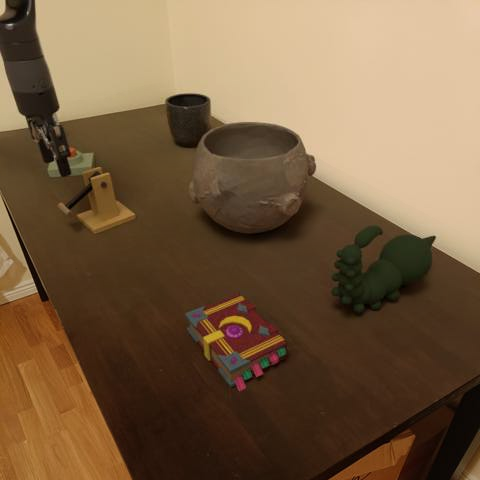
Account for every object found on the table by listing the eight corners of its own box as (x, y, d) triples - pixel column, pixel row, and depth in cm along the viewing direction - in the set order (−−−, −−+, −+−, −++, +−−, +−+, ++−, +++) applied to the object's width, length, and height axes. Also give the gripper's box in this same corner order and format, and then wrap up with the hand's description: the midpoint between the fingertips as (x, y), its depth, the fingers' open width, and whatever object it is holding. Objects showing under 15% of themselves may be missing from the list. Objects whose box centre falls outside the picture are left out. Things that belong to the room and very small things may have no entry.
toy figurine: (352, 337, 78) (444, 280, 86) (366, 255, 64) (474, 197, 73) (318, 308, 84) (407, 258, 92) (324, 227, 70) (429, 176, 78)
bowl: (172, 242, 97) (160, 156, 84) (219, 187, 117) (216, 109, 103) (287, 267, 91) (295, 177, 77) (317, 204, 110) (328, 123, 96)
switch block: (49, 177, 121) (45, 163, 119) (54, 162, 128) (50, 149, 126) (93, 174, 123) (89, 160, 120) (95, 159, 130) (92, 146, 127)
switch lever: (71, 219, 96) (64, 212, 94) (61, 211, 99) (54, 204, 97) (110, 183, 98) (104, 176, 96) (100, 176, 101) (94, 168, 99)
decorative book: (240, 309, 81) (240, 289, 78) (291, 364, 71) (294, 344, 68) (186, 332, 77) (184, 311, 73) (233, 394, 67) (233, 374, 63)
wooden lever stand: (94, 234, 100) (82, 187, 92) (78, 219, 105) (64, 173, 97) (136, 218, 105) (127, 172, 97) (118, 204, 110) (108, 159, 102)
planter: (188, 131, 147) (185, 90, 138) (221, 140, 141) (219, 98, 132) (160, 144, 138) (155, 101, 129) (193, 154, 132) (190, 110, 124)
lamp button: (62, 159, 122) (60, 153, 120) (64, 154, 124) (62, 147, 123) (75, 158, 122) (74, 152, 121) (76, 153, 125) (75, 147, 123)
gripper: (-2, 80, 82) (27, 162, 93) (26, 97, 74) (54, 185, 85) (36, 73, 85) (60, 153, 96) (67, 89, 77) (89, 174, 89)
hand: (57, 168), depth 91 cm, fingers open, 8 cm apart
